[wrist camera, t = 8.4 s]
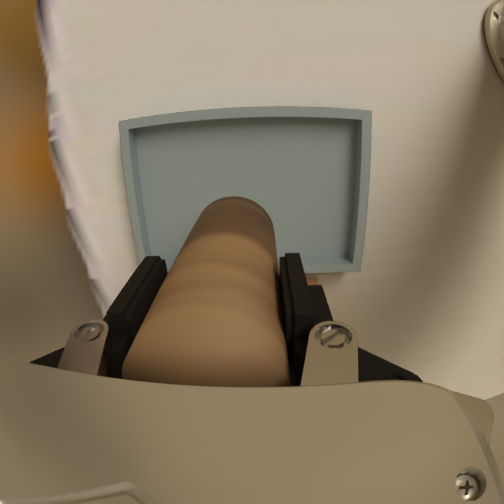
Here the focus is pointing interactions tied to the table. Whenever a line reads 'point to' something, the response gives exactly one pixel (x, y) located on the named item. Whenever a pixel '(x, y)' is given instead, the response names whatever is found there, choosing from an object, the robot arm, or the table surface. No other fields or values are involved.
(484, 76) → the table surface
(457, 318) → the table surface
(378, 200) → the table surface
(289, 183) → the tray
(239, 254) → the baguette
